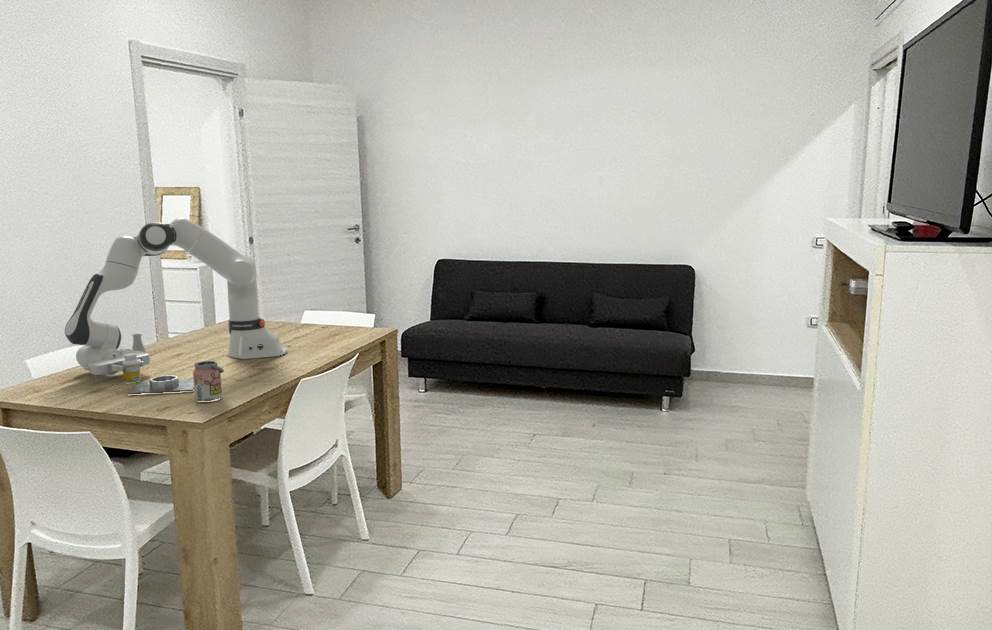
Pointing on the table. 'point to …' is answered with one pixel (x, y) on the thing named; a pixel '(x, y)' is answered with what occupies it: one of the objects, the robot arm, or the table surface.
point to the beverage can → (207, 381)
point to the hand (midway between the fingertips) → (132, 366)
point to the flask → (138, 343)
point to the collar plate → (163, 385)
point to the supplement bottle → (131, 368)
